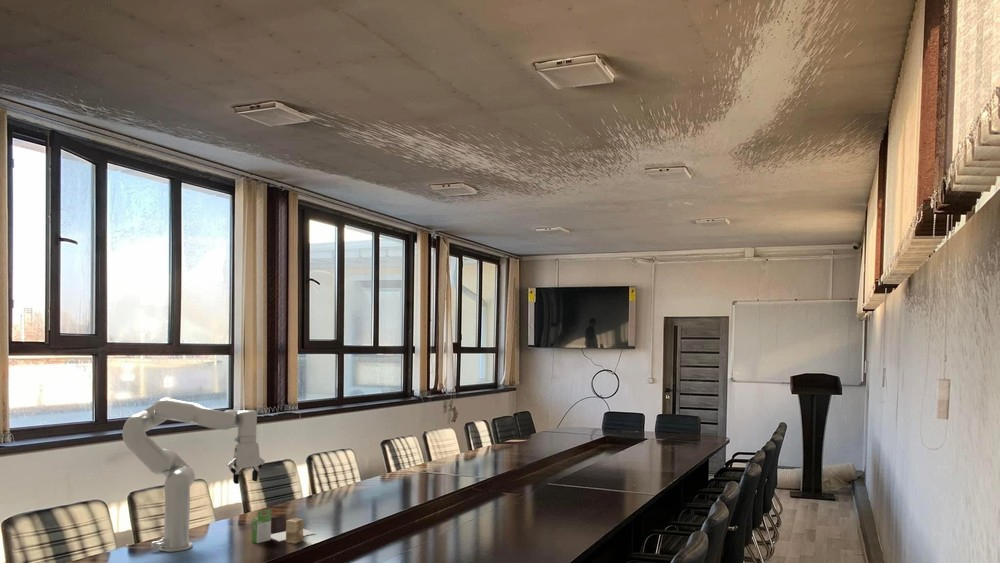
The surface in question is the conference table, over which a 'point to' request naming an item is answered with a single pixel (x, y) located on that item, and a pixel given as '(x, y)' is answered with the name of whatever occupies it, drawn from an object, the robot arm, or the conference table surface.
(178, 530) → the robot arm
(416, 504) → the conference table surface
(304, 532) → the felt mat
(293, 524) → the oak block
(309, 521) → the conference table surface
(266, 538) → the ink box
